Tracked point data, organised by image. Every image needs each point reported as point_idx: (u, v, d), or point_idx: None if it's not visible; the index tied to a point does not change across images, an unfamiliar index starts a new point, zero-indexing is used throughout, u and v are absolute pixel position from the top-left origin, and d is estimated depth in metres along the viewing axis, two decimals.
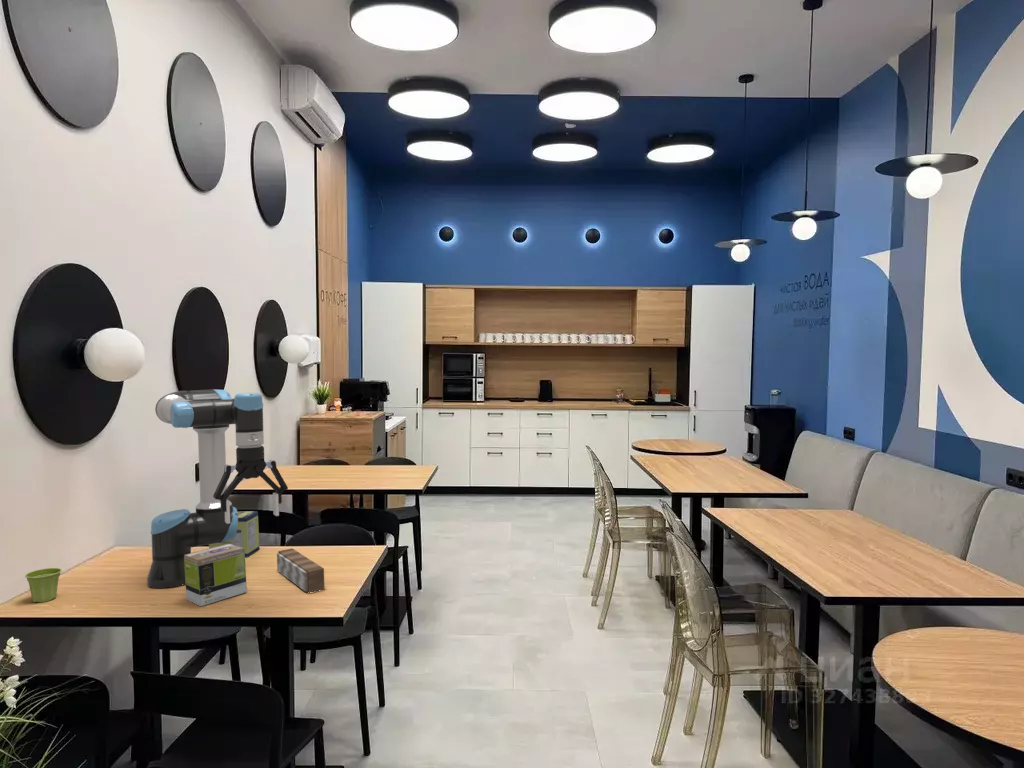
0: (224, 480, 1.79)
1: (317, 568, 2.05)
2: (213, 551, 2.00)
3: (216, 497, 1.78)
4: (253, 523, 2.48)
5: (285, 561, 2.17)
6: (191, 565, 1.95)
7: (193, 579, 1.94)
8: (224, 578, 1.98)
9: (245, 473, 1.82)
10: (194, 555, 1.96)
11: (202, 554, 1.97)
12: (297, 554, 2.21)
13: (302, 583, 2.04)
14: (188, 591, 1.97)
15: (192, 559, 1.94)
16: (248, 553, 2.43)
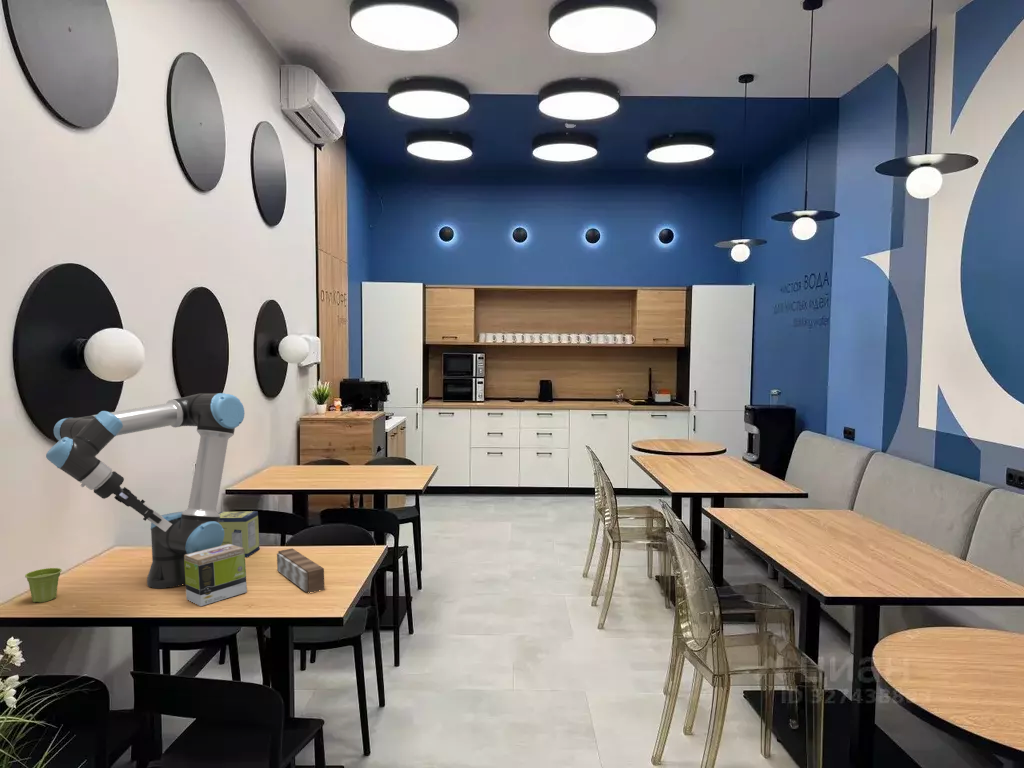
0: None
1: (317, 568, 2.05)
2: (213, 551, 2.00)
3: None
4: (253, 523, 2.48)
5: (285, 561, 2.17)
6: (191, 565, 1.95)
7: (193, 579, 1.94)
8: (224, 578, 1.98)
9: None
10: (194, 555, 1.96)
11: (202, 554, 1.97)
12: (297, 554, 2.21)
13: (302, 583, 2.04)
14: (188, 591, 1.97)
15: (192, 559, 1.94)
16: (248, 553, 2.43)
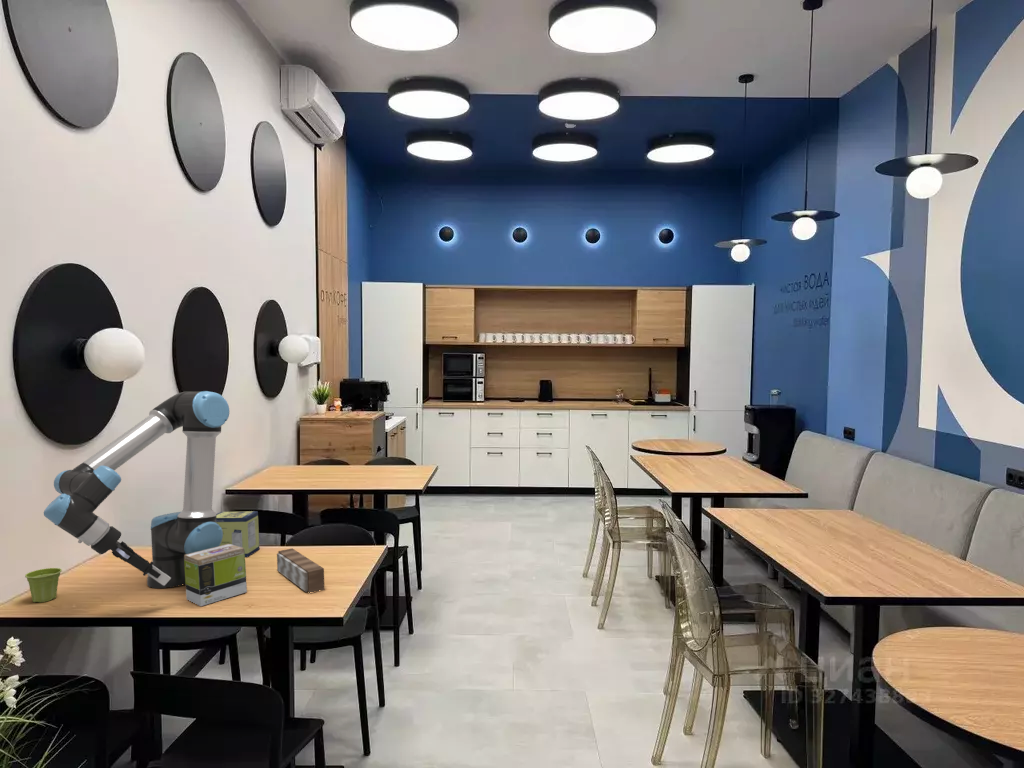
0: None
1: (317, 568, 2.05)
2: (213, 551, 2.00)
3: None
4: (253, 523, 2.48)
5: (285, 561, 2.17)
6: (191, 564, 1.95)
7: (193, 579, 1.94)
8: (224, 578, 1.98)
9: None
10: (194, 555, 1.96)
11: (202, 554, 1.97)
12: (297, 554, 2.21)
13: (302, 583, 2.04)
14: (188, 591, 1.97)
15: (192, 559, 1.94)
16: (248, 553, 2.43)
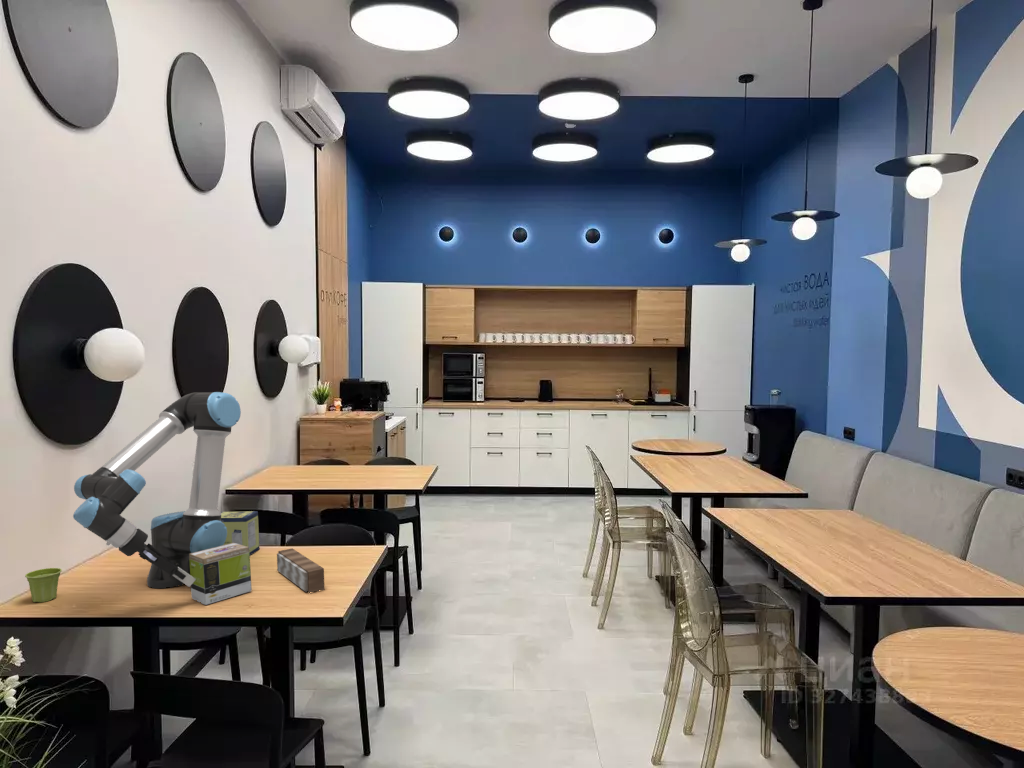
0: None
1: (317, 568, 2.05)
2: (218, 550, 2.00)
3: None
4: (253, 523, 2.48)
5: (285, 561, 2.17)
6: (196, 563, 1.95)
7: (198, 578, 1.95)
8: (229, 577, 1.99)
9: None
10: (199, 554, 1.97)
11: (207, 553, 1.98)
12: (297, 554, 2.21)
13: (302, 583, 2.04)
14: (193, 589, 1.98)
15: (197, 558, 1.95)
16: None
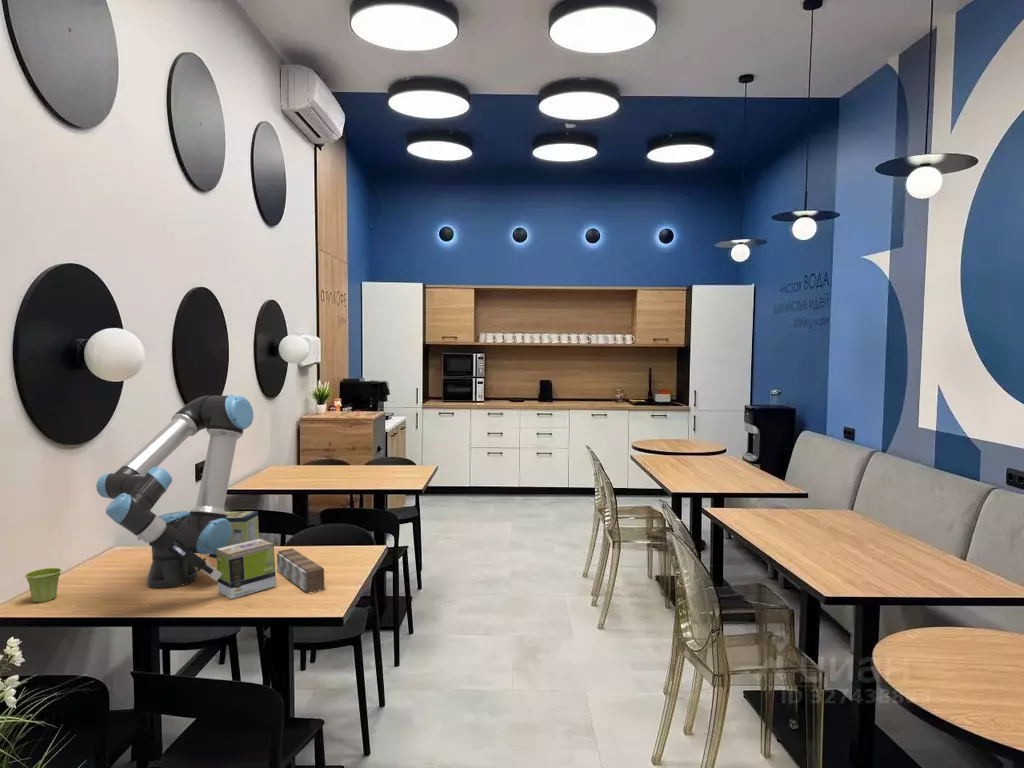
0: None
1: (317, 568, 2.05)
2: (244, 545, 2.05)
3: None
4: (253, 523, 2.48)
5: (285, 561, 2.17)
6: (223, 558, 2.00)
7: (224, 573, 2.00)
8: (253, 572, 2.03)
9: None
10: (225, 549, 2.02)
11: (233, 548, 2.02)
12: (297, 554, 2.21)
13: (302, 583, 2.04)
14: (220, 584, 2.03)
15: (223, 553, 2.00)
16: None
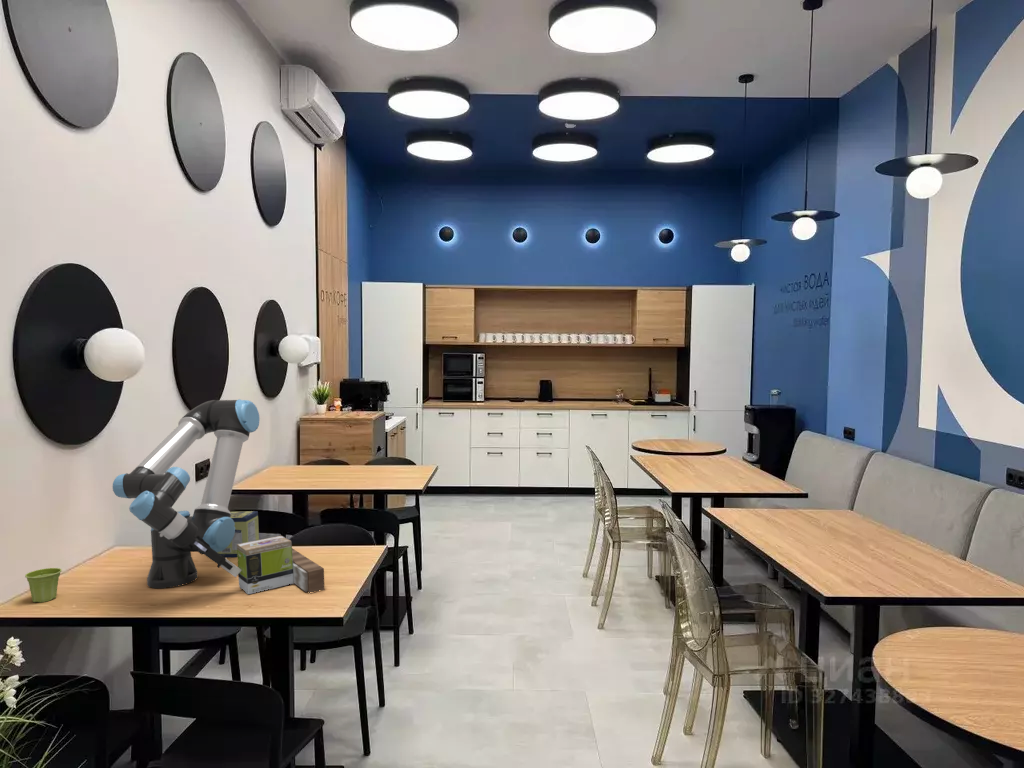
0: None
1: (317, 568, 2.05)
2: (262, 542, 2.09)
3: None
4: (253, 523, 2.48)
5: None
6: (241, 554, 2.05)
7: (242, 568, 2.04)
8: (271, 568, 2.06)
9: None
10: (244, 545, 2.06)
11: (252, 545, 2.06)
12: (297, 554, 2.21)
13: (302, 583, 2.04)
14: (240, 579, 2.07)
15: (242, 549, 2.04)
16: None
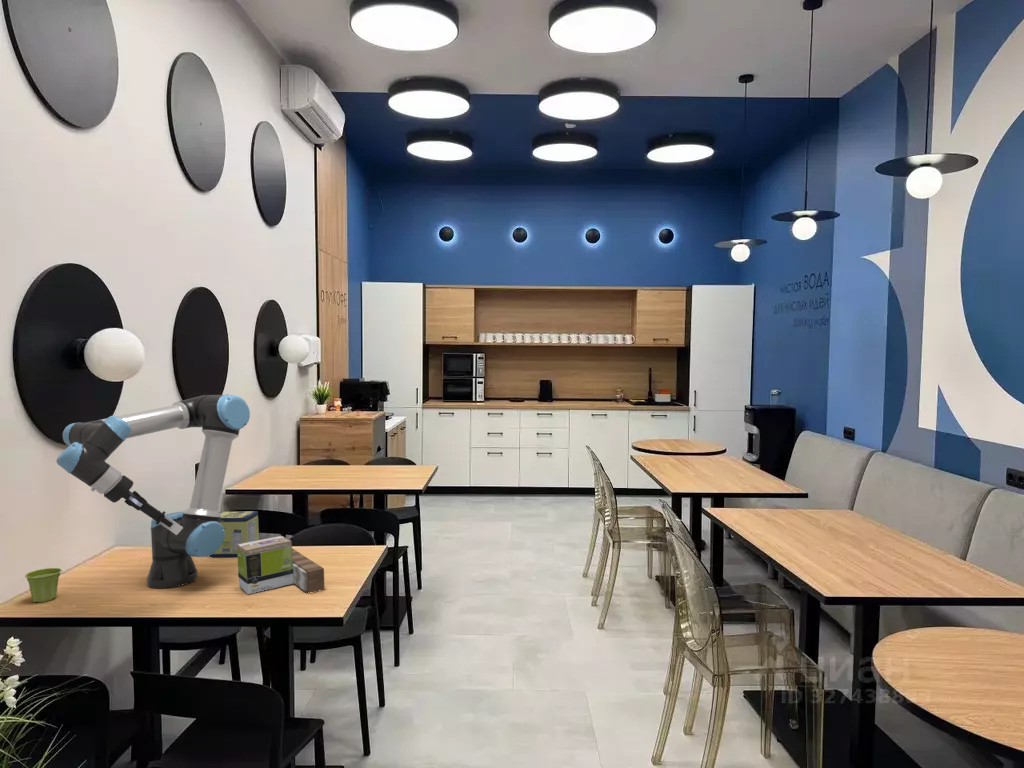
0: None
1: (317, 568, 2.05)
2: (262, 542, 2.09)
3: None
4: (253, 523, 2.48)
5: None
6: (241, 554, 2.05)
7: (242, 568, 2.04)
8: (271, 568, 2.06)
9: None
10: (244, 545, 2.06)
11: (252, 545, 2.06)
12: (297, 554, 2.21)
13: (302, 583, 2.04)
14: (240, 579, 2.07)
15: (242, 549, 2.04)
16: None
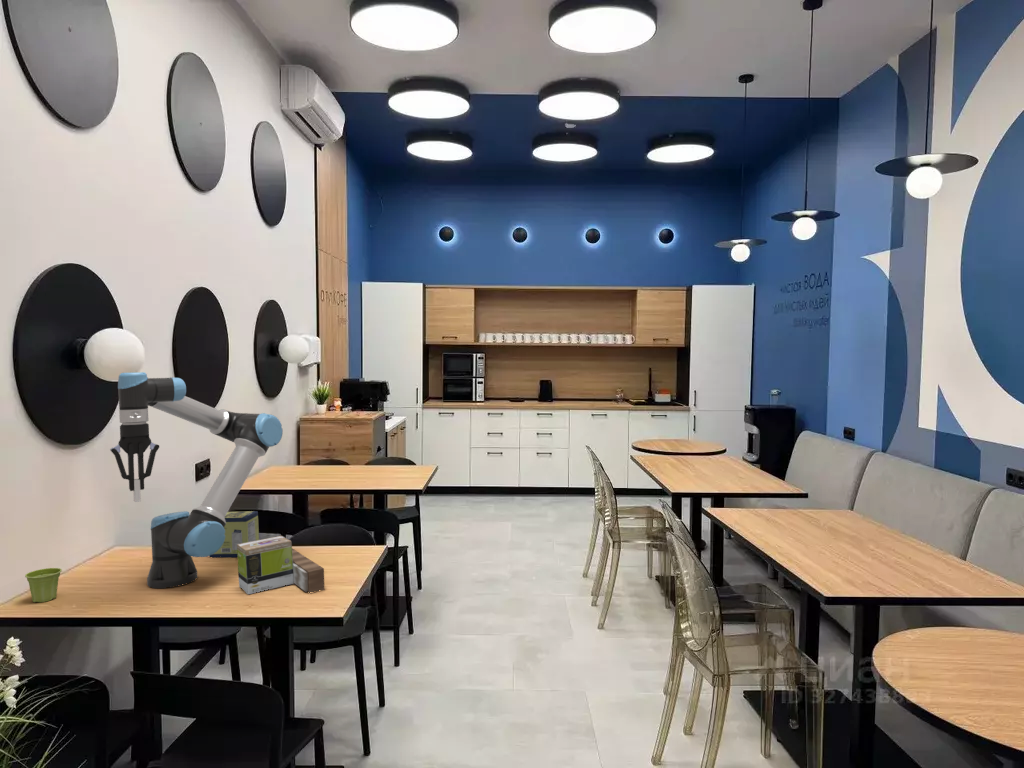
0: (118, 461, 1.89)
1: (317, 568, 2.05)
2: (262, 542, 2.09)
3: (124, 477, 1.89)
4: (253, 523, 2.48)
5: None
6: (241, 554, 2.05)
7: (242, 568, 2.04)
8: (271, 568, 2.06)
9: (131, 449, 1.90)
10: (244, 545, 2.06)
11: (252, 545, 2.06)
12: (297, 554, 2.21)
13: (302, 583, 2.04)
14: (240, 579, 2.07)
15: (242, 549, 2.04)
16: None
